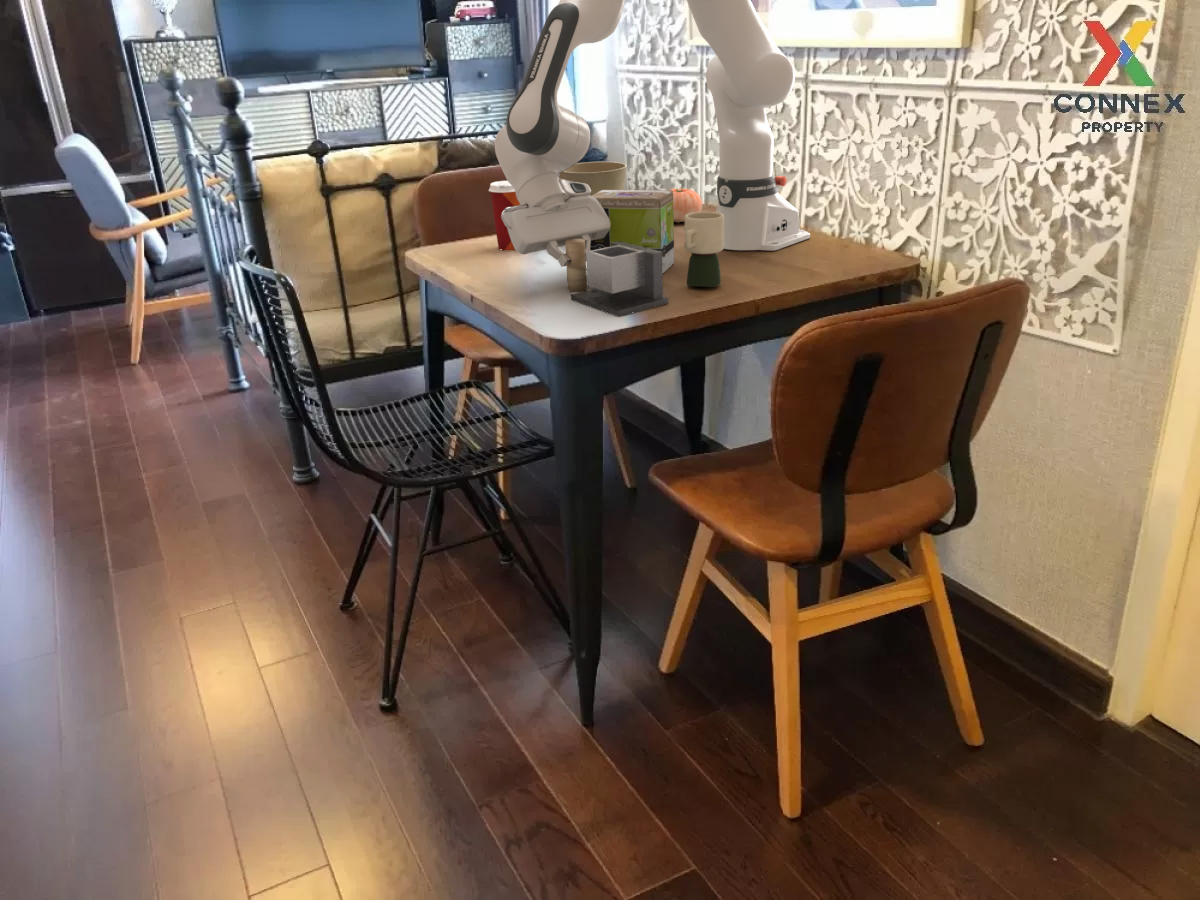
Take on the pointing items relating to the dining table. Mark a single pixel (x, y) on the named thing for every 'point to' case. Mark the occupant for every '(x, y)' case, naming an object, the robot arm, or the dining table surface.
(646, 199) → the tea box
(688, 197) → the orange pumpkin
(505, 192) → the paper cup
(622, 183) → the plant pot
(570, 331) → the dining table surface
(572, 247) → the tan wooden cylinder
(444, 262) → the dining table surface
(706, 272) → the character mug
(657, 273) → the grey box holder
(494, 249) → the dining table surface
